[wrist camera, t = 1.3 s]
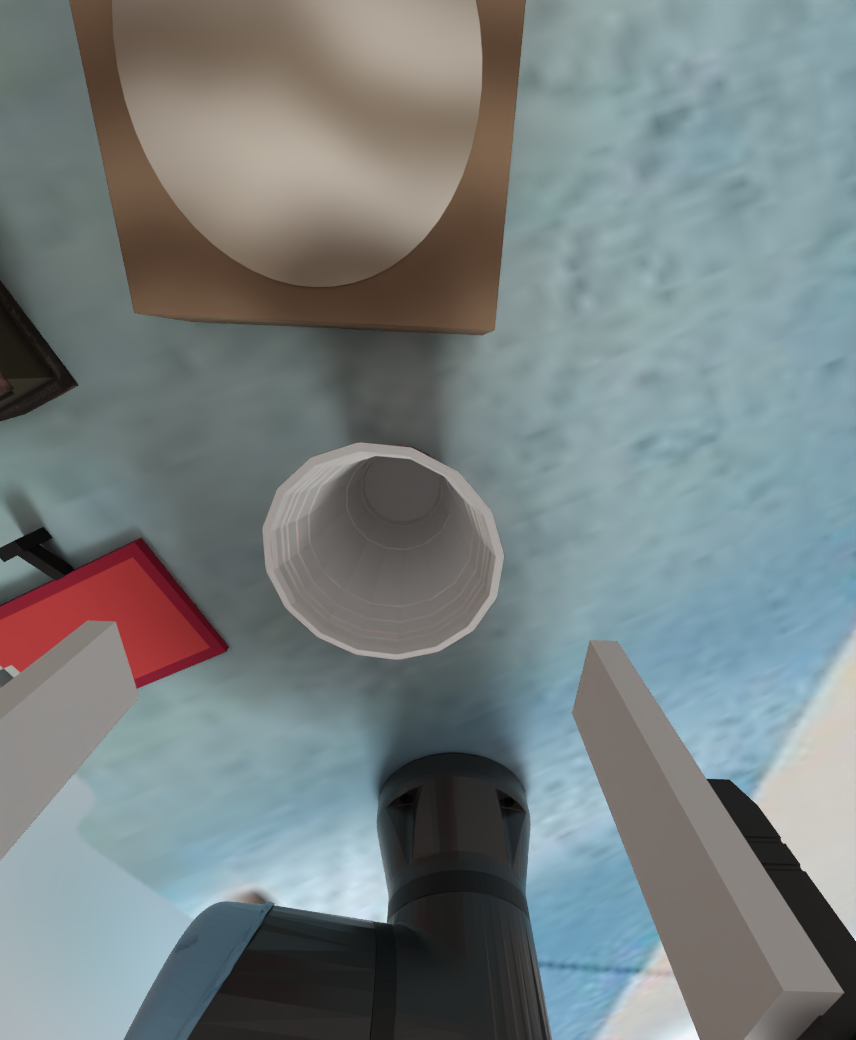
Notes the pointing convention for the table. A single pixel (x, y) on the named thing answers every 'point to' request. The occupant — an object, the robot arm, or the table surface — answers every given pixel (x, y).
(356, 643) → the plastic cup
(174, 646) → the red board with handle
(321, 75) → the walnut pedestal
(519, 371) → the table surface
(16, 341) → the diary
